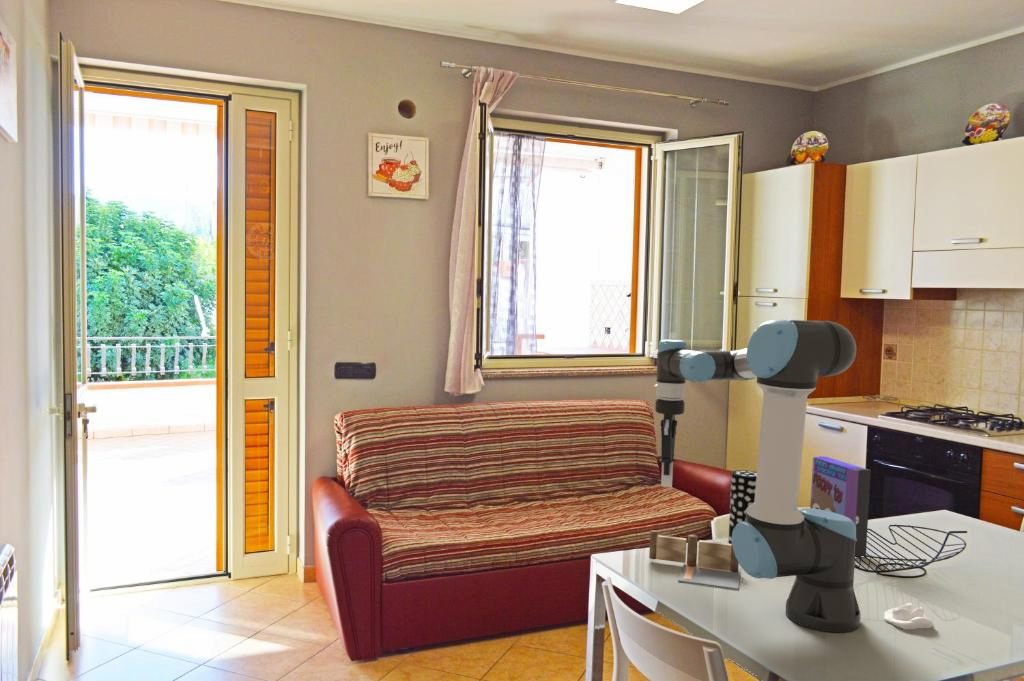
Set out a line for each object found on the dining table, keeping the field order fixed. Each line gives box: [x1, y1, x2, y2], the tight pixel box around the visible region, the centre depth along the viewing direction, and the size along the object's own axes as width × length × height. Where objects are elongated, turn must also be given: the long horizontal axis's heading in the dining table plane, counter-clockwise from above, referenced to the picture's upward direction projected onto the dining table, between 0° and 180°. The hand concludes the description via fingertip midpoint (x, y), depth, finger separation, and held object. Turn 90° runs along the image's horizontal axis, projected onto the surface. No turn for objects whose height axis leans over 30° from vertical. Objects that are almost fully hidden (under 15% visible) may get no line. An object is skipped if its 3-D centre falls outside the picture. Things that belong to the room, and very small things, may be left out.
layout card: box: [677, 561, 742, 591], centre depth 196 cm, size 14×14×1 cm
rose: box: [883, 602, 934, 630], centre depth 171 cm, size 10×4×10 cm
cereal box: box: [809, 455, 872, 558], centre depth 221 cm, size 17×5×24 cm, turn 17°
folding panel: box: [648, 529, 688, 564], centre depth 204 cm, size 9×2×7 cm, turn 72°
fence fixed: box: [686, 534, 740, 572], centre depth 200 cm, size 13×2×8 cm, turn 72°
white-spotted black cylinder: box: [728, 469, 757, 544], centre depth 222 cm, size 8×8×20 cm
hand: (666, 486), depth 211 cm, fingers closed
